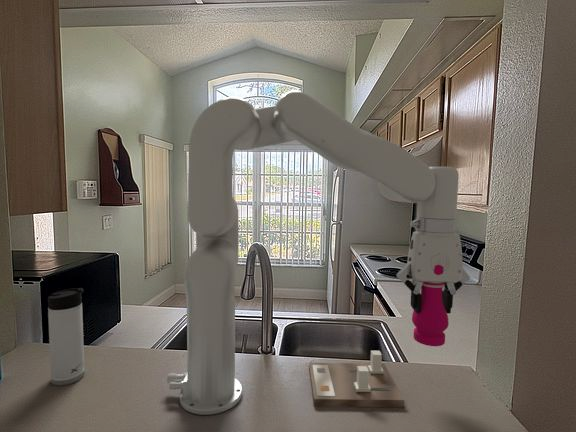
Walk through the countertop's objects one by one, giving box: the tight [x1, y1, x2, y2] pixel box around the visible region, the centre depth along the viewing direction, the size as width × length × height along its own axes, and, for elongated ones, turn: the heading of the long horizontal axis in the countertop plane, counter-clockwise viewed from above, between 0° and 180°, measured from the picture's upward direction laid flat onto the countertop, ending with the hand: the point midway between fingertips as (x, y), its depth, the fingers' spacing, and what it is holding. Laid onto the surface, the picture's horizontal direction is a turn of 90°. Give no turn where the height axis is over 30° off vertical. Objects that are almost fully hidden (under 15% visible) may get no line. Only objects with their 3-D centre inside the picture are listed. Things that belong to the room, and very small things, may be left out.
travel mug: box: [47, 287, 85, 386], centre depth 75 cm, size 6×7×20 cm
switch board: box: [308, 362, 405, 408], centre depth 75 cm, size 18×14×2 cm
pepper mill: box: [411, 265, 449, 347], centre depth 72 cm, size 7×7×20 cm
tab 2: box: [368, 350, 384, 374], centre depth 78 cm, size 3×2×4 cm
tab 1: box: [354, 366, 371, 392], centre depth 71 cm, size 3×2×4 cm
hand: (431, 310), depth 73 cm, fingers closed on pepper mill, 5 cm apart
